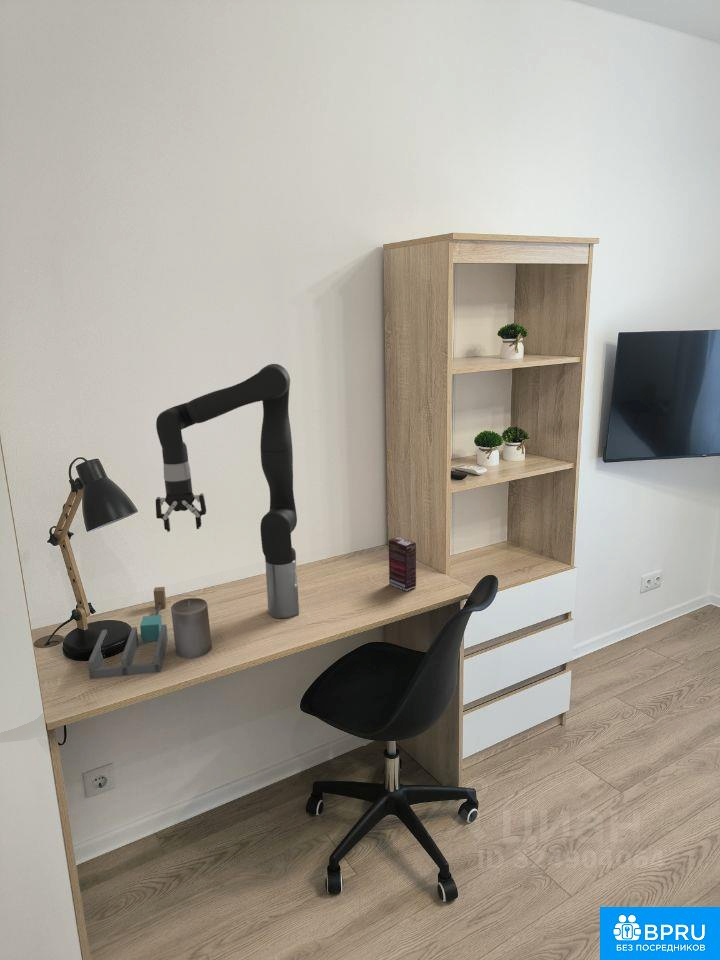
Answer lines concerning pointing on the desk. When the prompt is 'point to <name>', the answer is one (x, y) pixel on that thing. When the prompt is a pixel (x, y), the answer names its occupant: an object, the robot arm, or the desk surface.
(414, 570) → the supplement box
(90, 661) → the lane rack
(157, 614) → the block ended dumbbell
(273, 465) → the robot arm
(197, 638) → the pillar candle
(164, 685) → the desk surface
